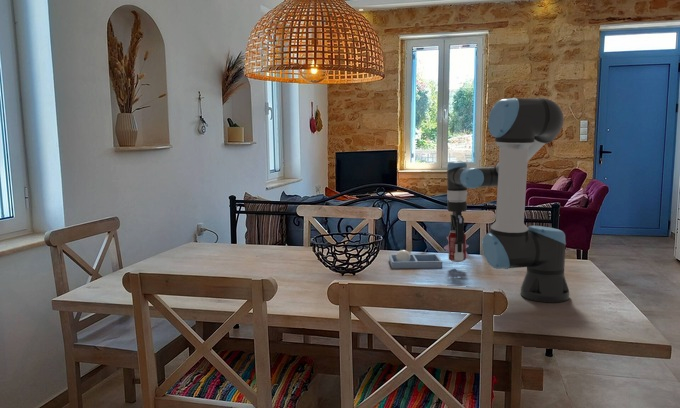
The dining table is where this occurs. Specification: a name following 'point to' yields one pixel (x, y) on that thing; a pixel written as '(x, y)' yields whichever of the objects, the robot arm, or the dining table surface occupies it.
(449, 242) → the soda can
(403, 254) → the cream white ball
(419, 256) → the holder
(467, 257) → the lily
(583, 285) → the dining table surface
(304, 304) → the dining table surface
